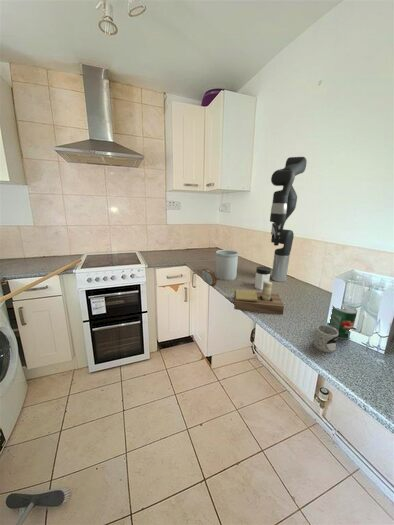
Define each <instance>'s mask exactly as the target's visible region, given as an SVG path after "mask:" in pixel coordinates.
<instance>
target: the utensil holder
mask: <svg viewBox="0 0 394 525" xmlns="http://www.w3.org/2000/svg"><path fill="white" fill-rule="evenodd" d="M239 255H240V254H239V251H237V250H233V249H219V250H216V251H215V275H216V279H217V280H220V281H227V282H228V281H234V280H236V279H237V274H238V261H239V258H238V257H239Z"/></svg>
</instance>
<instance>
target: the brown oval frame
mask: <svg viewBox="0 0 394 525" xmlns="http://www.w3.org/2000/svg"><path fill="white" fill-rule="evenodd" d="M201 278H202V280H203V282H204V283H205V284H207V285H208V286H211V287H213V286H216V285H217V282H218V281H217V280H218V279H217V278H216V273H215V272H213V270H210V269H209V268H203V269H202V270H201Z"/></svg>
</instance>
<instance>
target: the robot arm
mask: <svg viewBox="0 0 394 525" xmlns="http://www.w3.org/2000/svg"><path fill="white" fill-rule="evenodd" d="M306 167H307V158H306V157H305V156H292V157H291V156H290V157H288V158H287V159H286V161H285V165H284V168H280V169H276V170H275V171H273V173H272V175H271V177H270V178H271V179H270V182H271V184H272V185H273V186H276V187H282V189H281V190H276V191H274V192H273V195H272V204H271V209H270V217H269V222H271V223H272V224H271V232H270V233H271V239H270V240H271V241H270V243H272V244H273V245H274V246H275V247H277V246H279V244H280V245H283V246H282V247H279V248H276V249H274V255H273V262H272V268H271V276H270V278H271V281H272V280H273V281H274V282H278V283H279V282H281V283H283V282H284V283H285V282H286V281H287V276H288V268H289V263H290V255H291V251H292V246H293V241H294V236H295V234H294V231H293V230H291V229H284V227H285V223H286V221H287V220H288V219H289V217H290V216H291V215H292V214H293V212H294V211H295V210H296V207H297V201H298V195H297V192H296V190H295V188H294V186H293V183H294V181H295V178H296V176H298V175H300V174H303V173H305V171H306Z"/></svg>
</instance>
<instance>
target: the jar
mask: <svg viewBox="0 0 394 525" xmlns="http://www.w3.org/2000/svg"><path fill="white" fill-rule="evenodd" d="M271 274H272V268H270V267H267V266H262V265H261V266H257V267H256V271H255V279H254V280H255V281H254V288H255V289H258V290H261V291H263V283H264V282H270V278H271Z"/></svg>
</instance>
